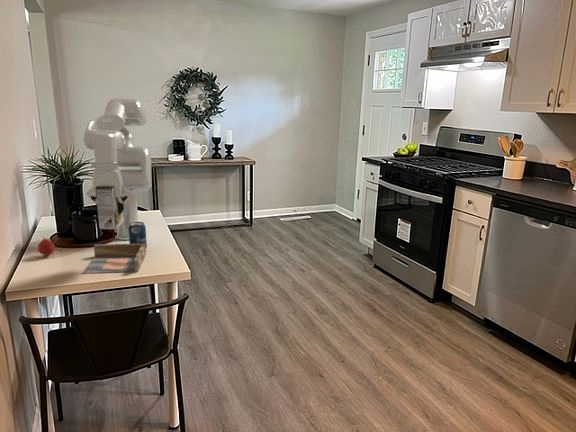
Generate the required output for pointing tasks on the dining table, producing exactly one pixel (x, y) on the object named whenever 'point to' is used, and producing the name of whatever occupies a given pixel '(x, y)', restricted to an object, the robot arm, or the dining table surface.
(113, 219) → the coffee box
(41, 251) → the onion
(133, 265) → the corner arena
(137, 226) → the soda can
